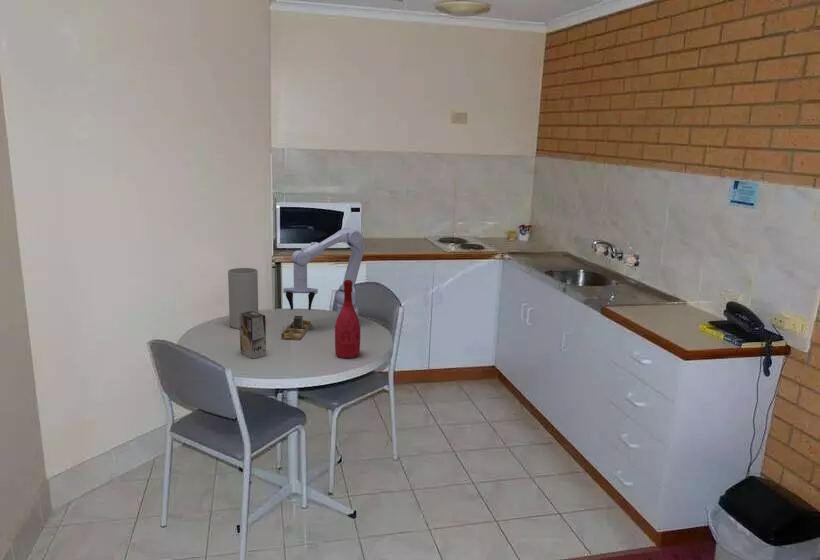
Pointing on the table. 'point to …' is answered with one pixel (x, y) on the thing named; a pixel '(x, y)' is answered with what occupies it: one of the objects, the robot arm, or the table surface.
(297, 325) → the black box
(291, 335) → the rack
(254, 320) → the coffee box
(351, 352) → the wine bottle
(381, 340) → the table surface
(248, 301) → the cylinder vase
